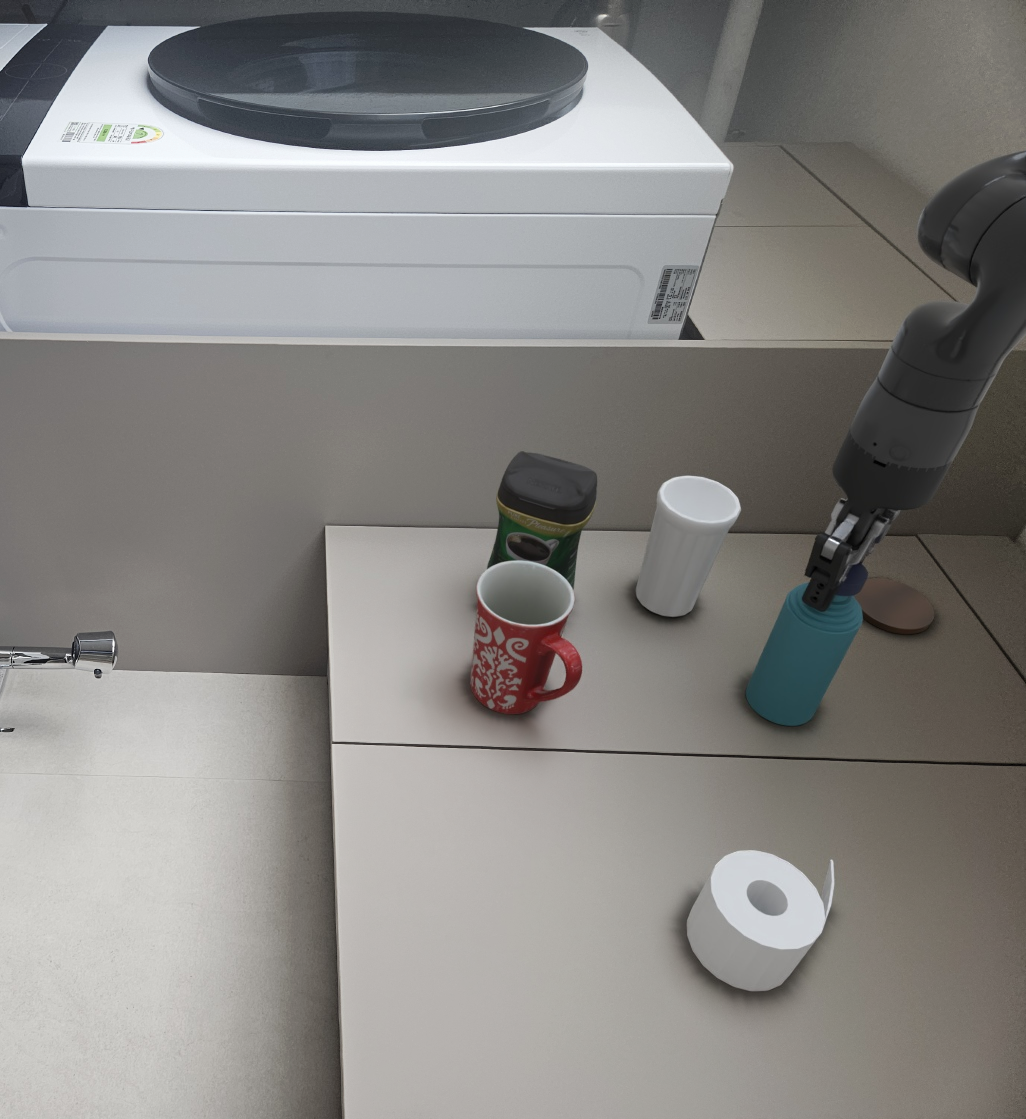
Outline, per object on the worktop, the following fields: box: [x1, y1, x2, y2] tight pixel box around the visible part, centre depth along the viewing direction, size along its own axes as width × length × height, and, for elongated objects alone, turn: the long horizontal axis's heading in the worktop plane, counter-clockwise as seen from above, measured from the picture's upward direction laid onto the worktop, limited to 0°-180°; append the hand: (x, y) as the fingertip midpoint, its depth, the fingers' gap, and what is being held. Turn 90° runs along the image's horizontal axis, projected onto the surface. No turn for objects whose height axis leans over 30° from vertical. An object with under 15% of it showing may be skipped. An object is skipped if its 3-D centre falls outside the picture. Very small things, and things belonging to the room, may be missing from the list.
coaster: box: [853, 577, 935, 635], centre depth 106 cm, size 8×8×1 cm
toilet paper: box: [686, 849, 835, 992], centre depth 77 cm, size 8×11×7 cm
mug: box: [469, 561, 583, 715], centre depth 93 cm, size 13×9×14 cm
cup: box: [635, 475, 742, 618], centre depth 103 cm, size 8×8×14 cm
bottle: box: [745, 582, 864, 727], centre depth 91 cm, size 6×6×17 cm
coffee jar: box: [485, 450, 598, 591], centre depth 102 cm, size 10×8×19 cm
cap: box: [836, 562, 869, 596], centre depth 86 cm, size 4×4×2 cm
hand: (825, 593), depth 87 cm, fingers closed on cap, 3 cm apart
